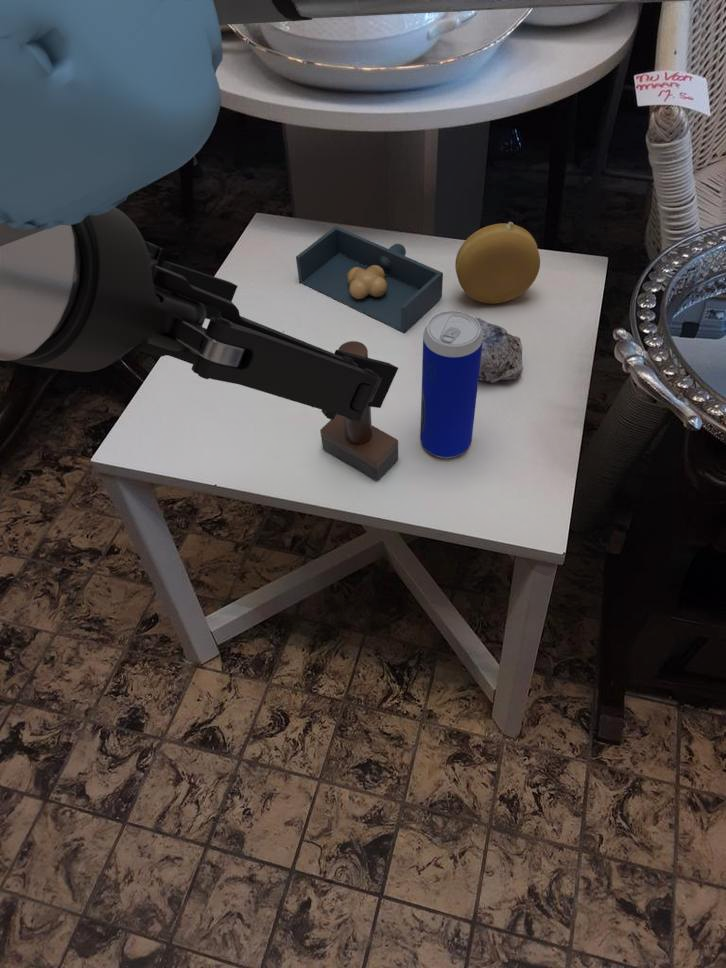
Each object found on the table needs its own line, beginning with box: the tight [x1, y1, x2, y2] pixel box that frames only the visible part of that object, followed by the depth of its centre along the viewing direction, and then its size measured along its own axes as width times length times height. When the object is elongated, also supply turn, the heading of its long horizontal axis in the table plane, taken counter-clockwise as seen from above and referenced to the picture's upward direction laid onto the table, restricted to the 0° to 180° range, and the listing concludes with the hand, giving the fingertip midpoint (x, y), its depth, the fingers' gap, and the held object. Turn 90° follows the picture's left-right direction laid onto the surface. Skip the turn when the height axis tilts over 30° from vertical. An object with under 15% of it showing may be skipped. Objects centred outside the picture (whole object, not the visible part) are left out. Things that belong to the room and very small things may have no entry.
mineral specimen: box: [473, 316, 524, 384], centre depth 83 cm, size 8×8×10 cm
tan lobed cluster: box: [347, 265, 387, 299], centre depth 92 cm, size 5×5×2 cm
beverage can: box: [419, 310, 483, 459], centre depth 72 cm, size 5×5×15 cm
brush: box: [319, 340, 399, 482], centre depth 72 cm, size 7×4×14 cm, turn 52°
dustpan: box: [295, 225, 444, 334], centre depth 92 cm, size 10×16×4 cm, turn 52°
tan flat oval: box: [454, 221, 541, 304], centre depth 87 cm, size 9×4×10 cm, turn 94°
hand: (301, 341), depth 50 cm, fingers open, 13 cm apart
